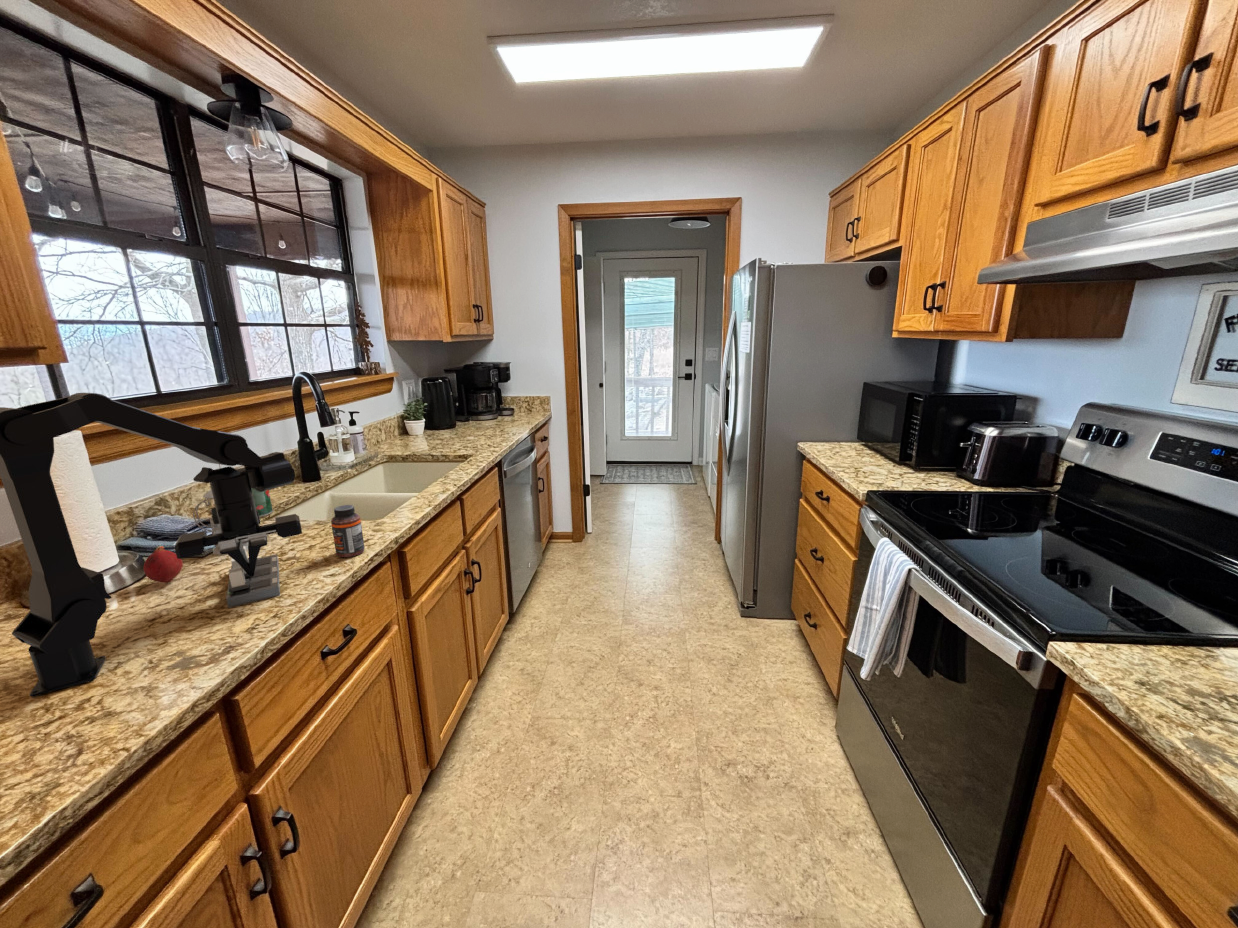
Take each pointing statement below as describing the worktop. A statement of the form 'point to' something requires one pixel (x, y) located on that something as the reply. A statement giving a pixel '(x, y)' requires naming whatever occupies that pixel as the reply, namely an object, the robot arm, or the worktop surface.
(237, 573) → the breaker handle
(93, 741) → the worktop surface
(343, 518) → the supplement bottle
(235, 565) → the handle
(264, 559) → the breaker panel
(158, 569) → the onion
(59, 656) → the robot arm
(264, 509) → the canned tomato
